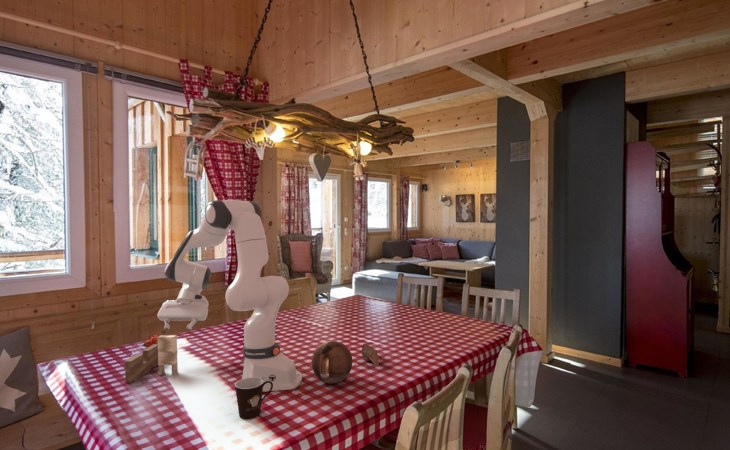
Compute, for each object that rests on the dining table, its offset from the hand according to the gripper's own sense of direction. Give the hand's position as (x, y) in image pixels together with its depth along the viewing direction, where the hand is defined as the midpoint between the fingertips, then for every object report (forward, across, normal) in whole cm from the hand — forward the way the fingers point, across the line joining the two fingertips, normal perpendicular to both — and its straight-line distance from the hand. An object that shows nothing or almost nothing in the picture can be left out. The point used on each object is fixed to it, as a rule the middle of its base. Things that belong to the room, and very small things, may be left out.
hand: (177, 329), depth 168 cm
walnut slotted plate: (+15, -11, +7) cm, 20 cm away
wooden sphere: (+22, +66, 0) cm, 70 cm away
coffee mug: (+40, +44, -17) cm, 62 cm away
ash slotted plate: (+17, 0, +5) cm, 18 cm away
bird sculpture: (+8, +80, +14) cm, 82 cm away
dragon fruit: (-2, -19, +24) cm, 31 cm away
